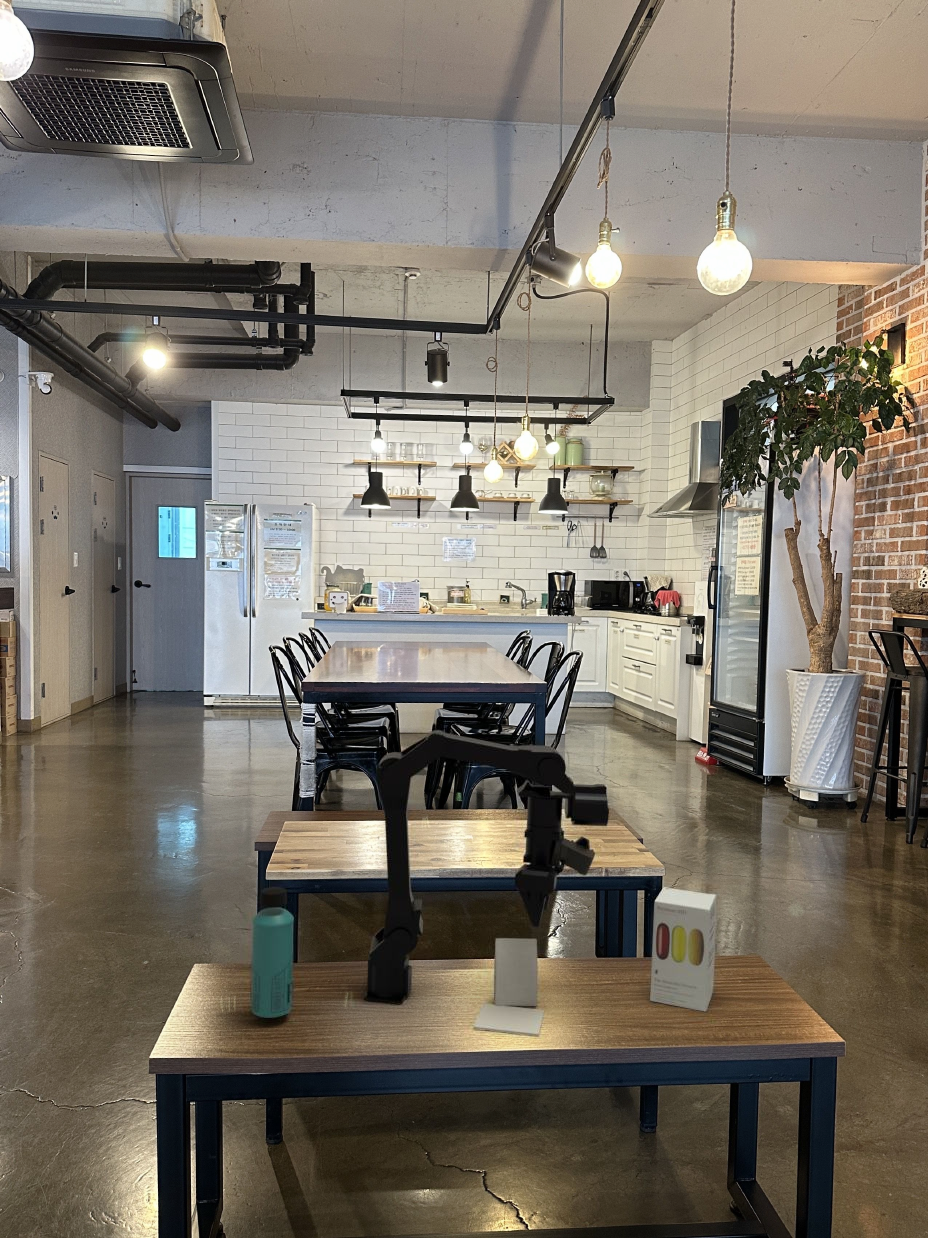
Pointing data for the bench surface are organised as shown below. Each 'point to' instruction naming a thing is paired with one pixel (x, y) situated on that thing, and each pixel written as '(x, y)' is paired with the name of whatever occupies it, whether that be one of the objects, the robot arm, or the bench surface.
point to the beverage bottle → (272, 956)
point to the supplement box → (683, 948)
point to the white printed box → (515, 972)
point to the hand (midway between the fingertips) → (539, 917)
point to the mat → (509, 1019)
